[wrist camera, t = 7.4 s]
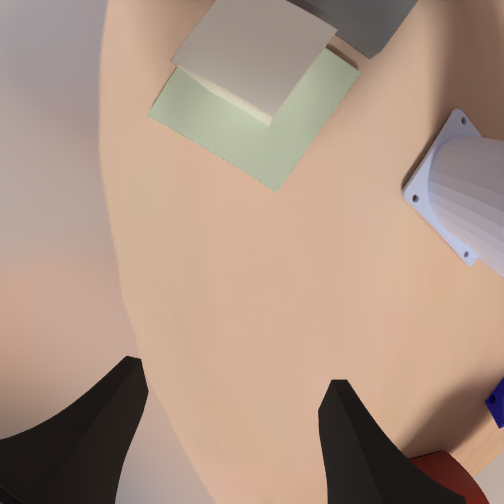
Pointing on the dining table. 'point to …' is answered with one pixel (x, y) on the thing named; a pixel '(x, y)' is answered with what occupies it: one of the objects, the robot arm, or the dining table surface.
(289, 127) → the mat
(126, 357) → the robot arm
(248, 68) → the plug
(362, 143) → the dining table surface
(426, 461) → the plant pot
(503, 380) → the cable clip
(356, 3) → the gray square hole board
